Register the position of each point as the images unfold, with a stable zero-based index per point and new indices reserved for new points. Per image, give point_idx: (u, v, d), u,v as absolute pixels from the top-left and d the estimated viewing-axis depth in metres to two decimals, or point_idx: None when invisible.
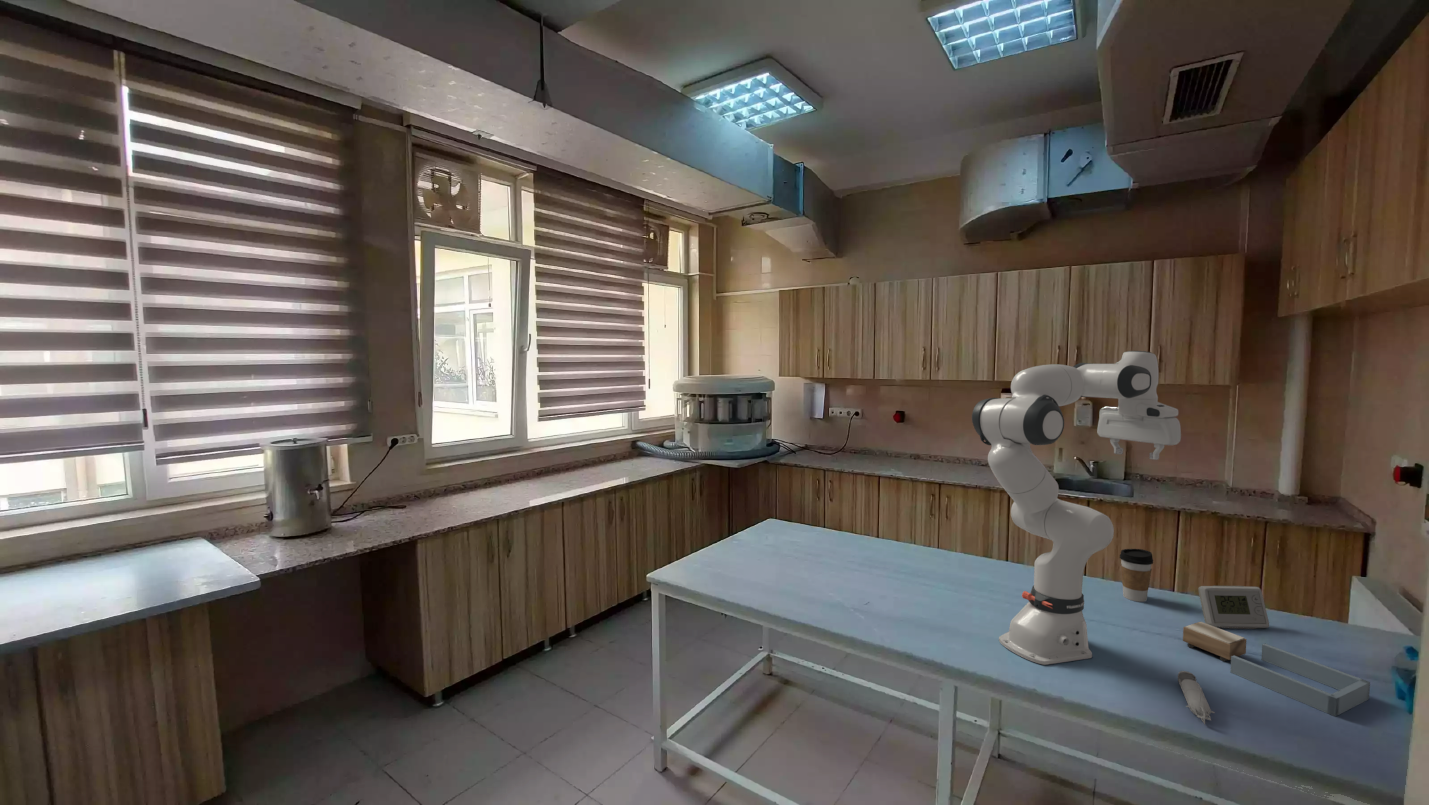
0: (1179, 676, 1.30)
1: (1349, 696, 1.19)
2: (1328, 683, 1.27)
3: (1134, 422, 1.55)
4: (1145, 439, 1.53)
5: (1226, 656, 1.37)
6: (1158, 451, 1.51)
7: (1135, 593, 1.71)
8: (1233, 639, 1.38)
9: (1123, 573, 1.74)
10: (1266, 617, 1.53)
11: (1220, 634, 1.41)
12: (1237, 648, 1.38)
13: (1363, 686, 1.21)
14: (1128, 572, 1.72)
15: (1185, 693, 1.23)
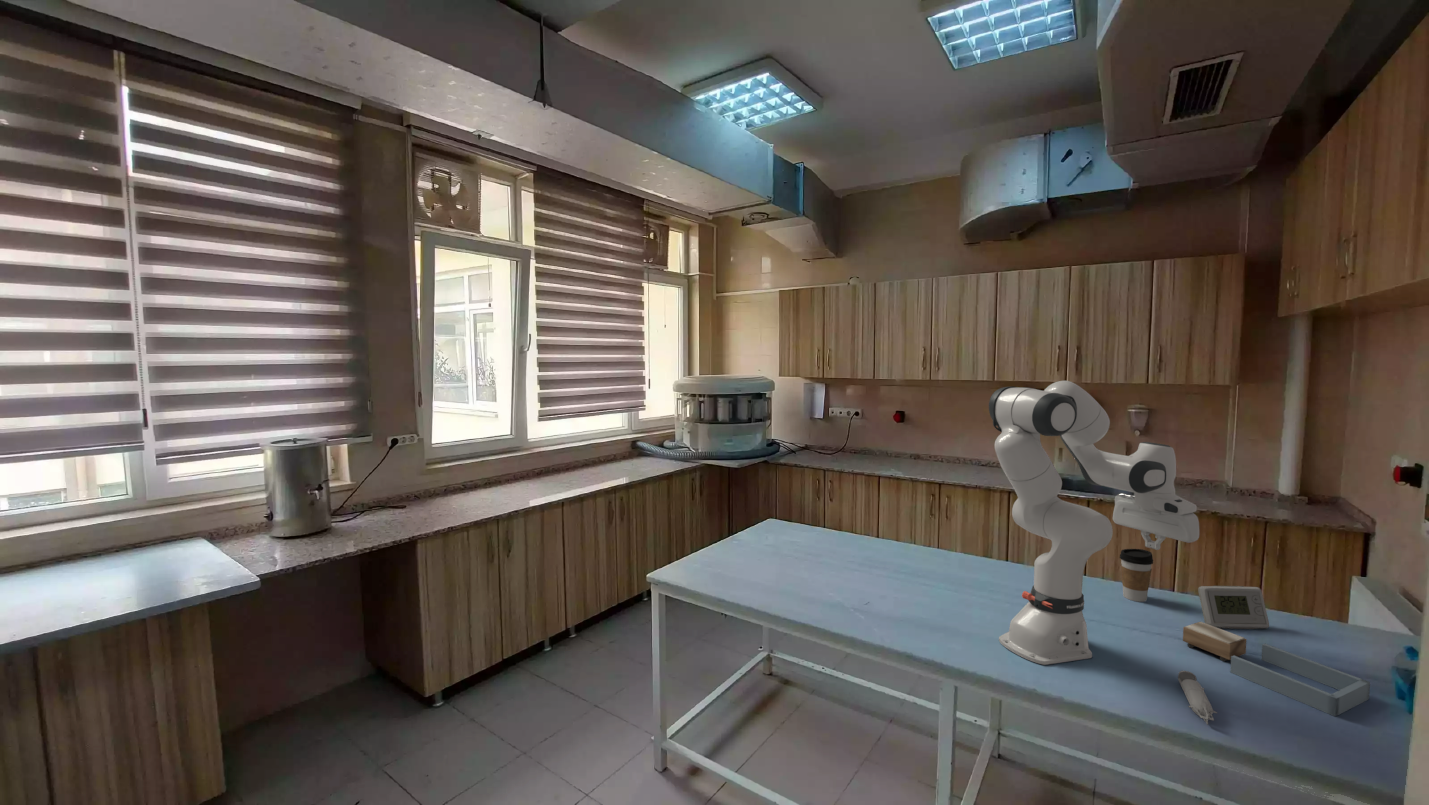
0: (1179, 676, 1.30)
1: (1349, 696, 1.19)
2: (1328, 683, 1.27)
3: (1151, 514, 1.53)
4: (1162, 533, 1.50)
5: (1226, 656, 1.37)
6: (1159, 542, 1.53)
7: (1135, 593, 1.71)
8: (1233, 639, 1.38)
9: (1123, 573, 1.74)
10: (1266, 617, 1.53)
11: (1220, 634, 1.41)
12: (1237, 648, 1.38)
13: (1363, 686, 1.21)
14: (1128, 572, 1.72)
15: (1187, 693, 1.23)
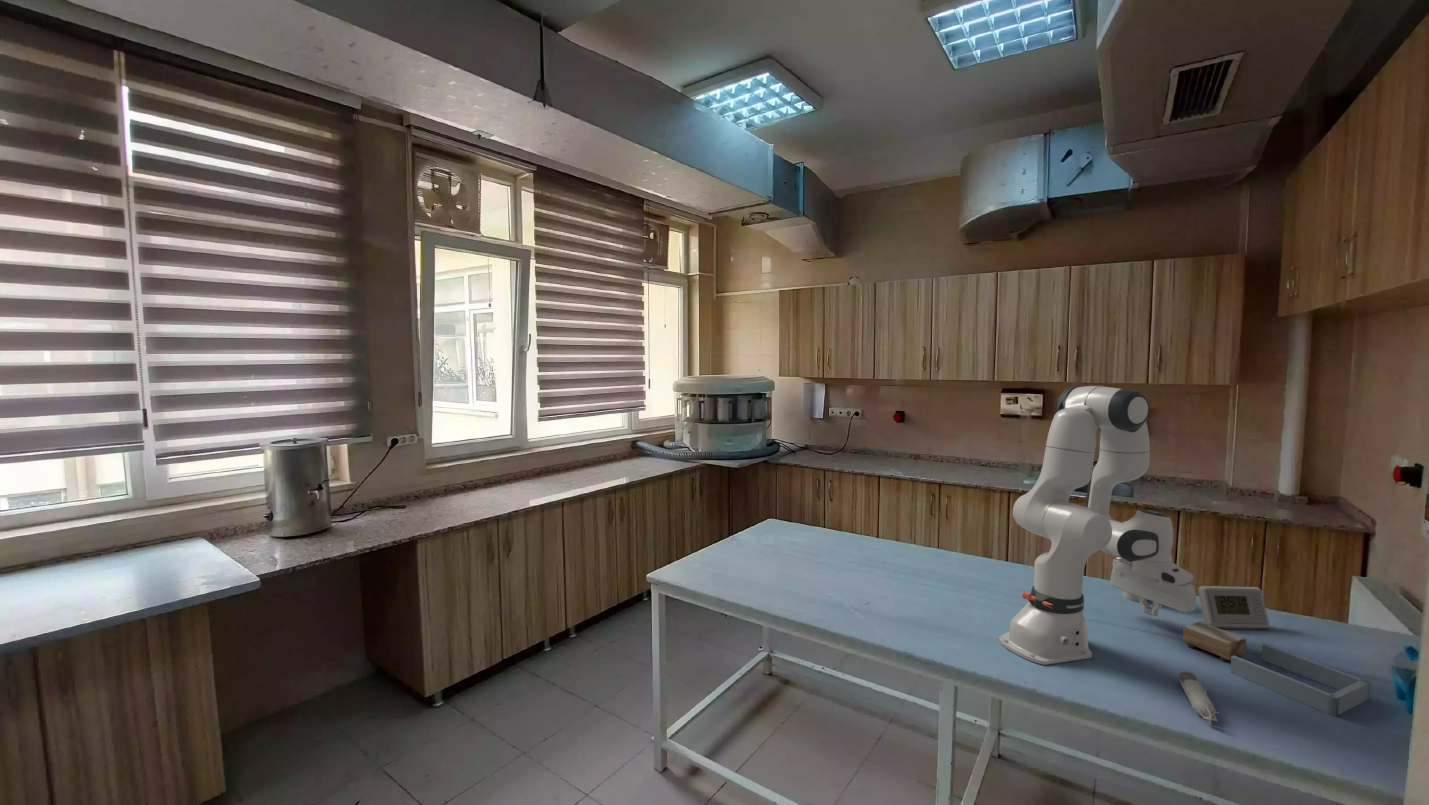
0: (1180, 676, 1.30)
1: (1349, 696, 1.19)
2: (1328, 683, 1.27)
3: (1148, 581, 1.55)
4: (1160, 601, 1.52)
5: (1226, 656, 1.37)
6: (1157, 609, 1.54)
7: None
8: (1233, 639, 1.38)
9: None
10: (1266, 617, 1.53)
11: (1220, 634, 1.41)
12: (1237, 648, 1.38)
13: (1363, 686, 1.21)
14: None
15: (1188, 694, 1.23)
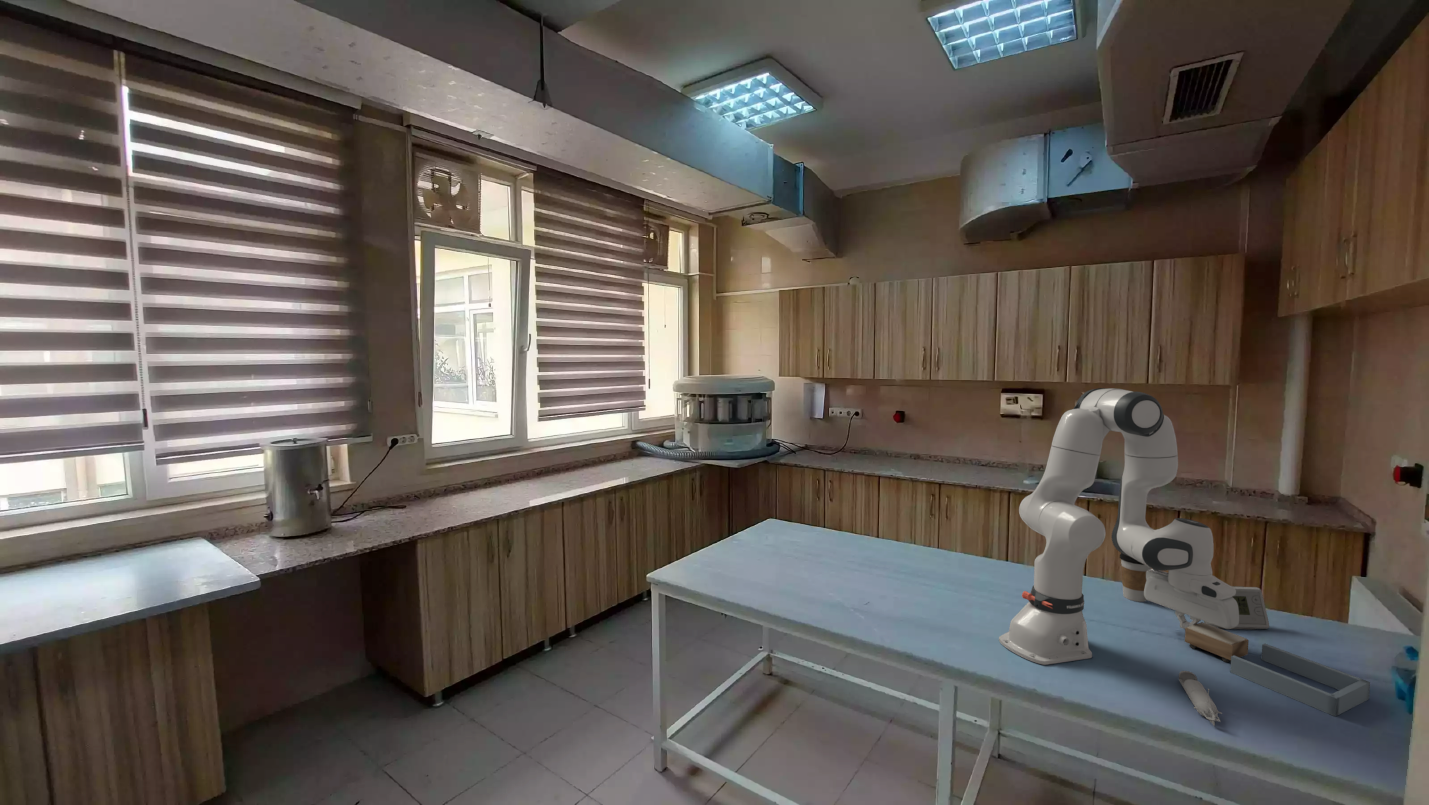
0: (1180, 676, 1.30)
1: (1349, 696, 1.19)
2: (1328, 683, 1.27)
3: (1186, 595, 1.46)
4: (1199, 616, 1.44)
5: (1228, 657, 1.37)
6: (1194, 624, 1.46)
7: (1135, 593, 1.71)
8: (1235, 640, 1.38)
9: (1123, 573, 1.74)
10: (1266, 618, 1.52)
11: (1222, 635, 1.40)
12: (1239, 648, 1.37)
13: (1363, 686, 1.21)
14: (1128, 572, 1.72)
15: (1190, 694, 1.23)
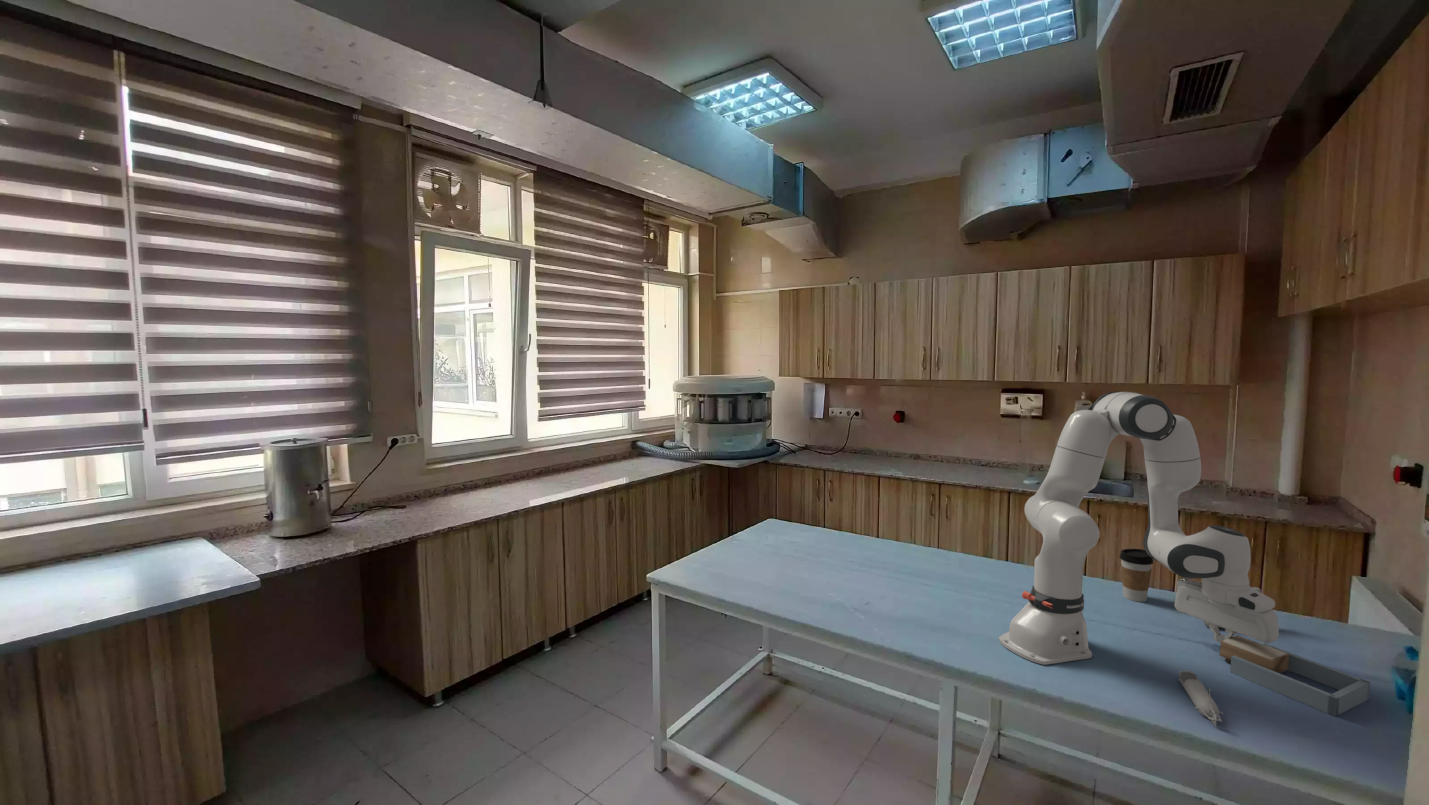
0: (1180, 676, 1.30)
1: (1349, 696, 1.19)
2: (1328, 683, 1.27)
3: (1221, 606, 1.39)
4: (1235, 629, 1.37)
5: None
6: (1230, 637, 1.39)
7: (1135, 593, 1.71)
8: (1275, 655, 1.31)
9: (1123, 573, 1.74)
10: None
11: (1261, 649, 1.33)
12: (1280, 664, 1.30)
13: (1363, 686, 1.21)
14: (1128, 572, 1.72)
15: (1191, 694, 1.23)
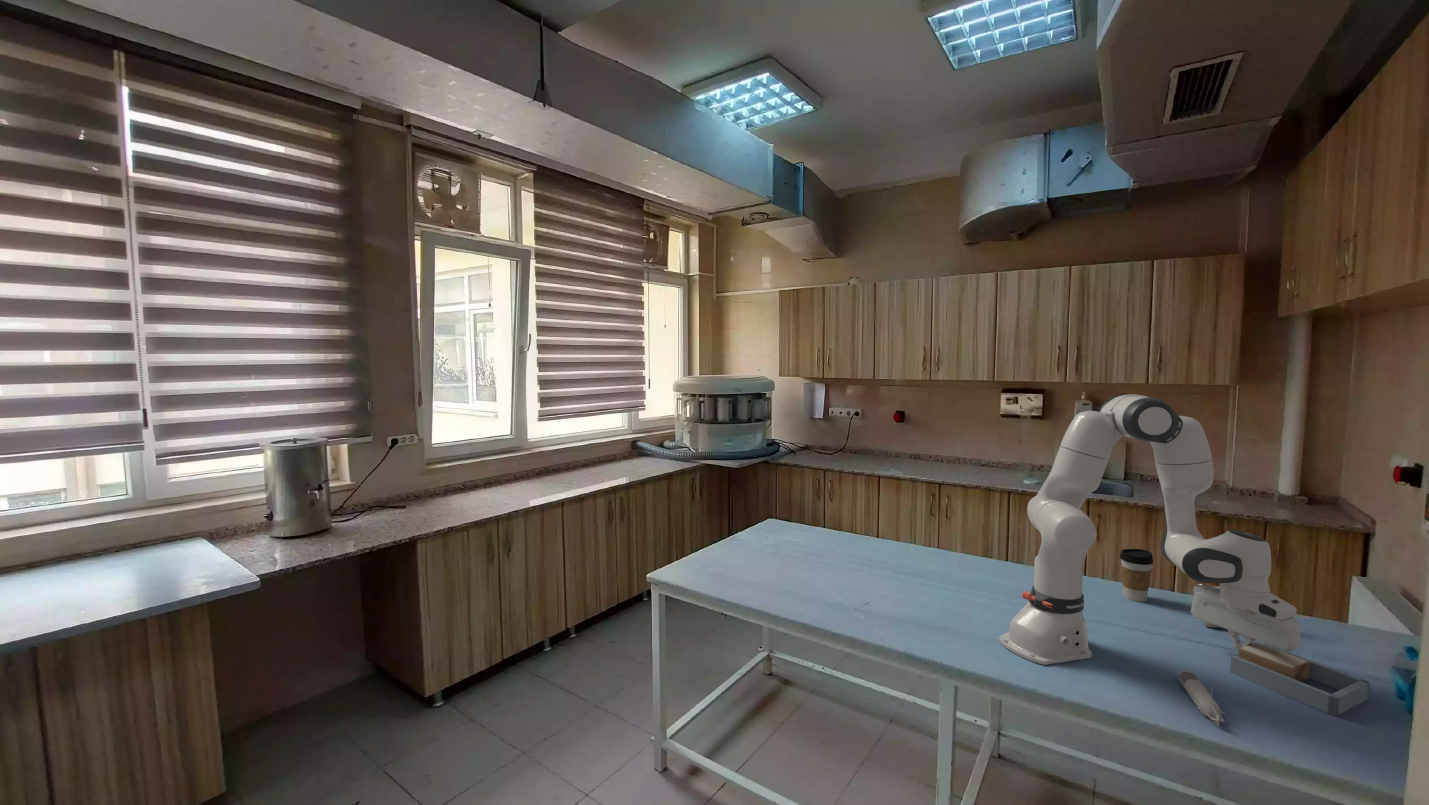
0: (1180, 676, 1.30)
1: (1349, 696, 1.19)
2: (1328, 683, 1.27)
3: (1240, 613, 1.36)
4: (1255, 636, 1.33)
5: None
6: (1248, 644, 1.36)
7: (1135, 593, 1.71)
8: (1296, 662, 1.28)
9: (1123, 573, 1.74)
10: None
11: (1281, 657, 1.30)
12: (1301, 672, 1.27)
13: (1363, 686, 1.21)
14: (1128, 572, 1.72)
15: (1192, 694, 1.23)
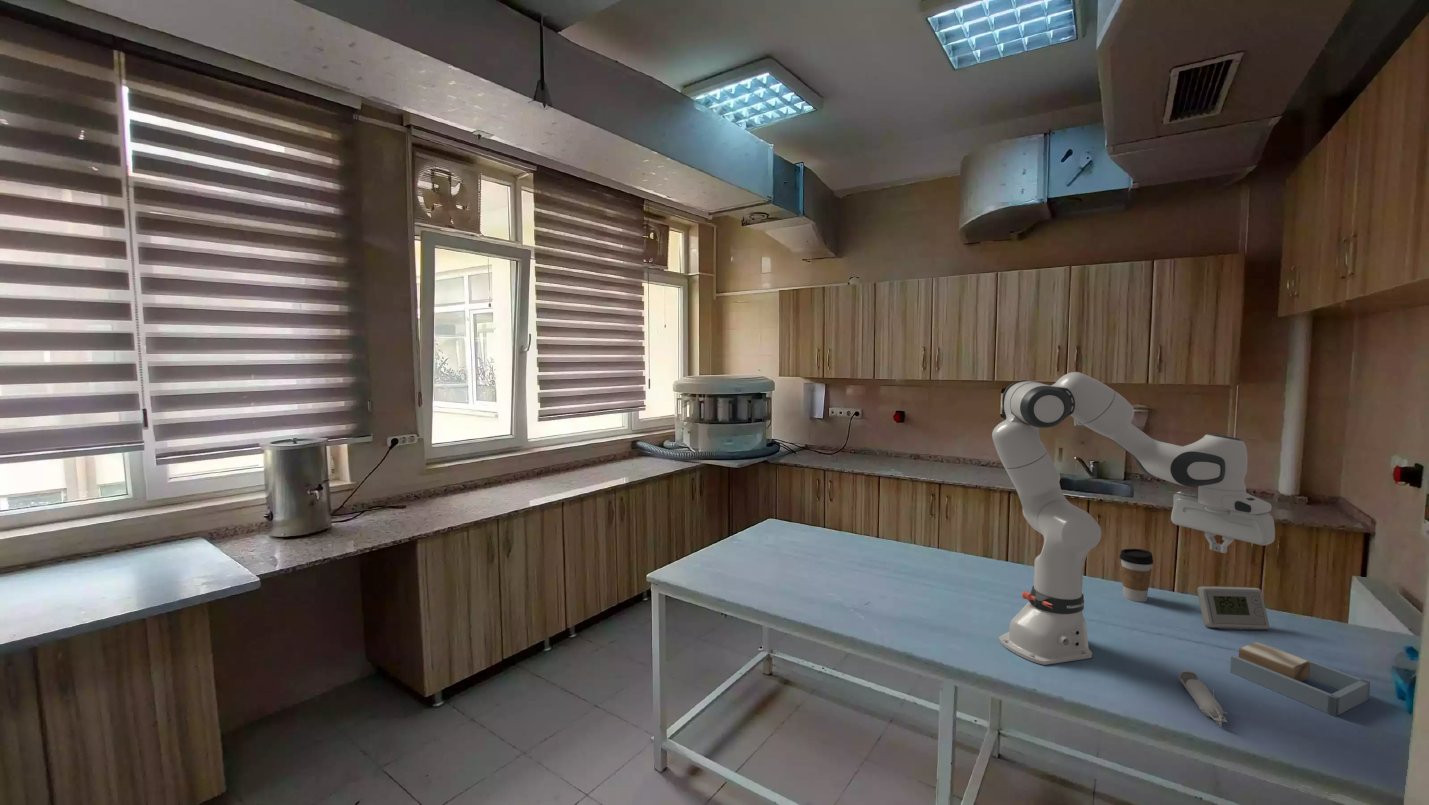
0: (1181, 676, 1.30)
1: (1349, 696, 1.19)
2: (1328, 683, 1.27)
3: (1218, 514, 1.39)
4: (1231, 535, 1.36)
5: None
6: (1227, 544, 1.38)
7: (1135, 593, 1.71)
8: (1296, 662, 1.27)
9: (1123, 573, 1.74)
10: (1266, 618, 1.52)
11: (1281, 657, 1.30)
12: (1301, 672, 1.27)
13: (1363, 686, 1.21)
14: (1128, 572, 1.72)
15: (1194, 694, 1.22)
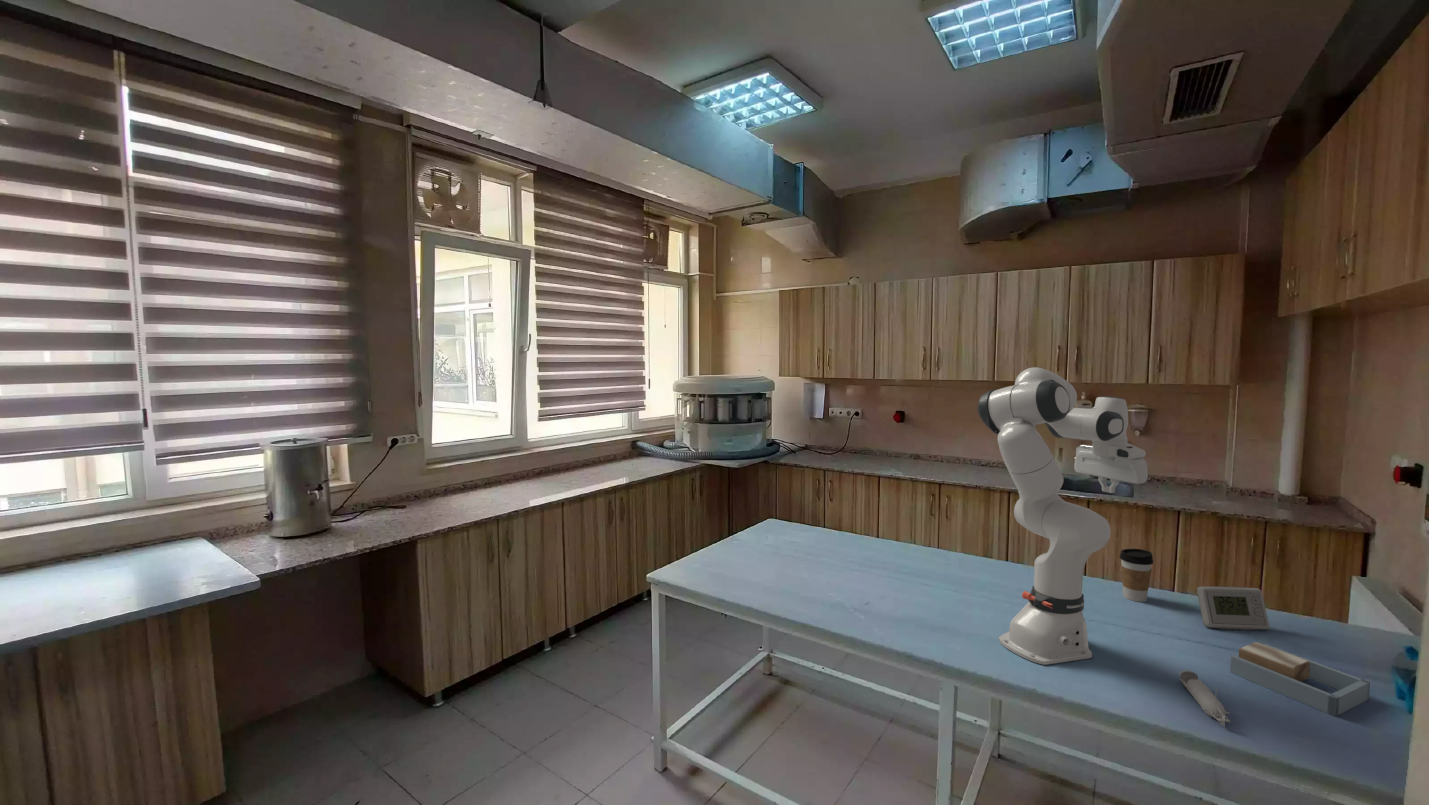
0: (1181, 676, 1.30)
1: (1349, 696, 1.19)
2: (1328, 683, 1.27)
3: (1106, 461, 1.70)
4: (1116, 477, 1.68)
5: None
6: (1114, 485, 1.70)
7: (1135, 593, 1.71)
8: (1296, 662, 1.27)
9: (1123, 573, 1.74)
10: (1266, 619, 1.52)
11: (1281, 657, 1.30)
12: (1301, 672, 1.27)
13: (1363, 686, 1.21)
14: (1128, 572, 1.72)
15: (1195, 694, 1.22)
